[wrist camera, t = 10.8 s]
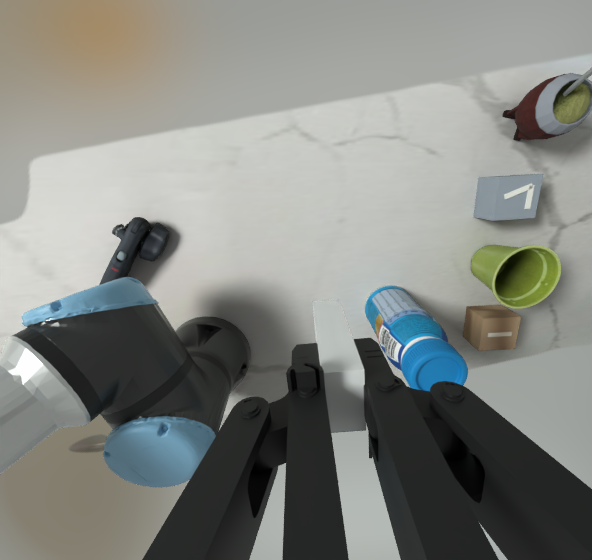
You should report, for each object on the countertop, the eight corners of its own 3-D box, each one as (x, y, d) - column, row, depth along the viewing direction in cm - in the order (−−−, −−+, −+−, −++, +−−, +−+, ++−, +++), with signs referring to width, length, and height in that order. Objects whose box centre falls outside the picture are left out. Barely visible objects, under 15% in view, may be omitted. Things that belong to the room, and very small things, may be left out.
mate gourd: (537, 146, 43) (655, 128, 29) (486, 138, 43) (580, 116, 29) (558, 89, 41) (697, 38, 27) (504, 80, 41) (616, 24, 26)
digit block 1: (462, 336, 53) (479, 351, 49) (466, 306, 52) (484, 319, 47) (495, 334, 53) (515, 349, 48) (500, 304, 51) (521, 317, 47)
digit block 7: (473, 216, 47) (493, 220, 42) (477, 177, 45) (500, 176, 40) (510, 214, 46) (535, 218, 42) (517, 175, 45) (544, 173, 40)
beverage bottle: (388, 274, 50) (445, 329, 31) (420, 304, 51) (492, 375, 32) (353, 307, 52) (385, 378, 33) (385, 335, 53) (433, 419, 34)
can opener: (141, 204, 46) (120, 207, 41) (178, 232, 48) (163, 238, 42) (90, 284, 51) (66, 296, 45) (125, 307, 52) (106, 322, 47)
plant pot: (528, 255, 48) (576, 270, 40) (486, 298, 51) (523, 320, 43) (489, 223, 47) (530, 231, 39) (448, 269, 49) (478, 286, 41)
